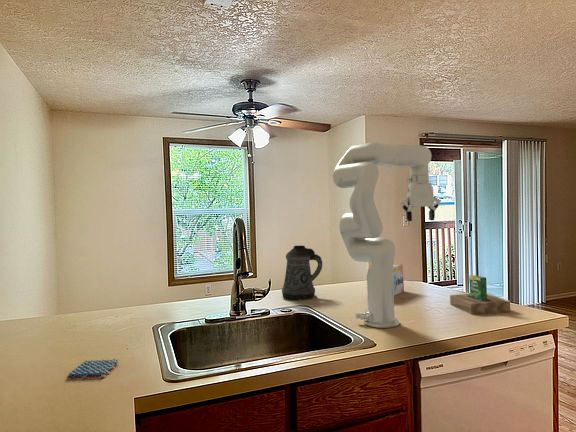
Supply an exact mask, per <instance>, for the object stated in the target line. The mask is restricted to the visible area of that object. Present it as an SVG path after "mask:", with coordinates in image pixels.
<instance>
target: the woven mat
mask: <svg viewBox="0 0 576 432" xmlns="http://www.w3.org/2000/svg"><path fill="white" fill-rule="evenodd" d="M118 365H119V360H118V359H116V358H114V359H106V360H104V359H102V360H98V359H97V360H93V359H92V360H85V361H84V362H82V363H80V365H79V364H78V366H77V367H76V368H74V370H71V372H69V373H68V374H67V377H66V380H69V381H70V380H85V379H86V380H91V379H92V380H93V379H95V380H96V379H105V378H106V377H107V376H108V375H110V374H111V372H113V371H114V369H116V367H118Z"/></svg>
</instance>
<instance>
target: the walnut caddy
mask: <svg viewBox="0 0 576 432" xmlns="http://www.w3.org/2000/svg"><path fill="white" fill-rule="evenodd" d="M449 303H450V305H451V306H453V307H455V308H457V309H459V310H461V311H463V312H465V313H468V314H470V315H483V314H484V315H485V314H498V313H510V312H511V300H509V299H506V298H503V297H501V296H497V295H494V294H491V293H489V292H487V301H482V302H480V301H478V300H475V299H473V298H470V293H467V294H466V293H465V294H450V295H449Z"/></svg>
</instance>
